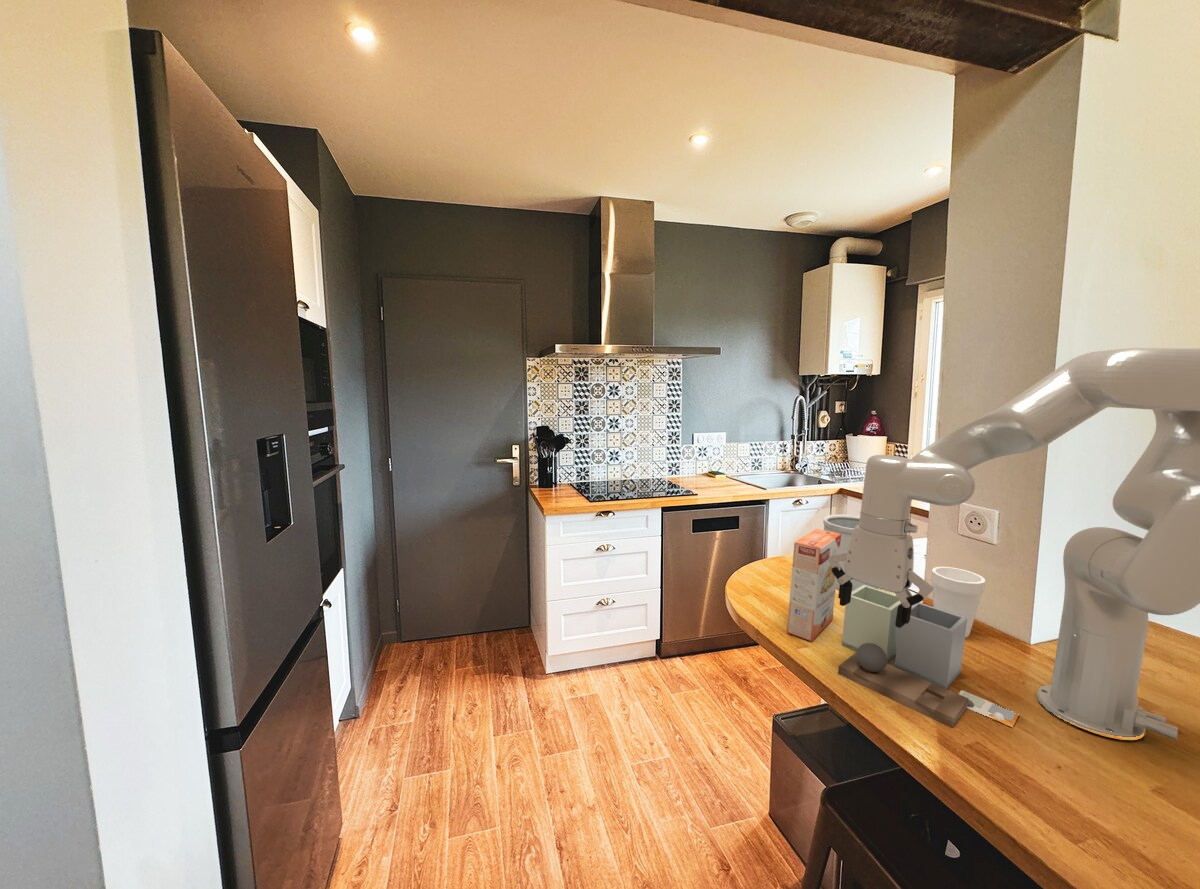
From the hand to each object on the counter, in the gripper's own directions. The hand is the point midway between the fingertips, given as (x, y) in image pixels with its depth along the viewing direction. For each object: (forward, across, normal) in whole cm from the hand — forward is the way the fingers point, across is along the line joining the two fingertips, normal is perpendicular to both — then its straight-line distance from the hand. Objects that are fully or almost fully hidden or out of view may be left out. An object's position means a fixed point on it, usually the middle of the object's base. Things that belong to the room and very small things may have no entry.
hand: (871, 614), depth 88 cm
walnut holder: (+12, -6, 0) cm, 13 cm away
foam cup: (+12, -5, -34) cm, 36 cm away
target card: (+12, -17, -6) cm, 21 cm away
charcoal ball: (+8, -1, 0) cm, 8 cm away
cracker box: (+12, +15, -10) cm, 22 cm away
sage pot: (+12, +3, -12) cm, 17 cm away
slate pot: (+12, -7, -12) cm, 18 cm away
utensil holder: (+12, +21, -42) cm, 48 cm away
